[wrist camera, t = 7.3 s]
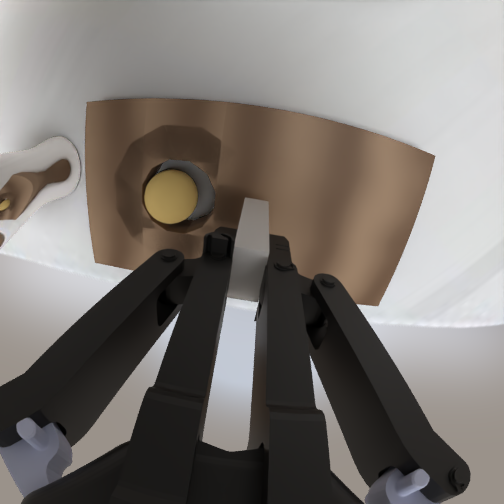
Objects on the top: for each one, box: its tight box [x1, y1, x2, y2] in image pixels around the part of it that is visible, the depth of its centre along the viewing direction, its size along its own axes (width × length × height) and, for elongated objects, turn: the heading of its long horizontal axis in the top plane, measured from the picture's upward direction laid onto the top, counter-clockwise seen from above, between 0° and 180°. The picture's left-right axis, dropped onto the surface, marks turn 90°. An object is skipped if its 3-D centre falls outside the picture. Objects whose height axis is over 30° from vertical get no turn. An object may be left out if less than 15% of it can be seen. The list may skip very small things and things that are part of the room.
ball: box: [144, 169, 198, 224], centre depth 19 cm, size 4×4×4 cm
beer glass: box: [0, 136, 80, 249], centre depth 13 cm, size 7×7×15 cm
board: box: [85, 98, 435, 306], centre depth 20 cm, size 26×14×2 cm, turn 81°
